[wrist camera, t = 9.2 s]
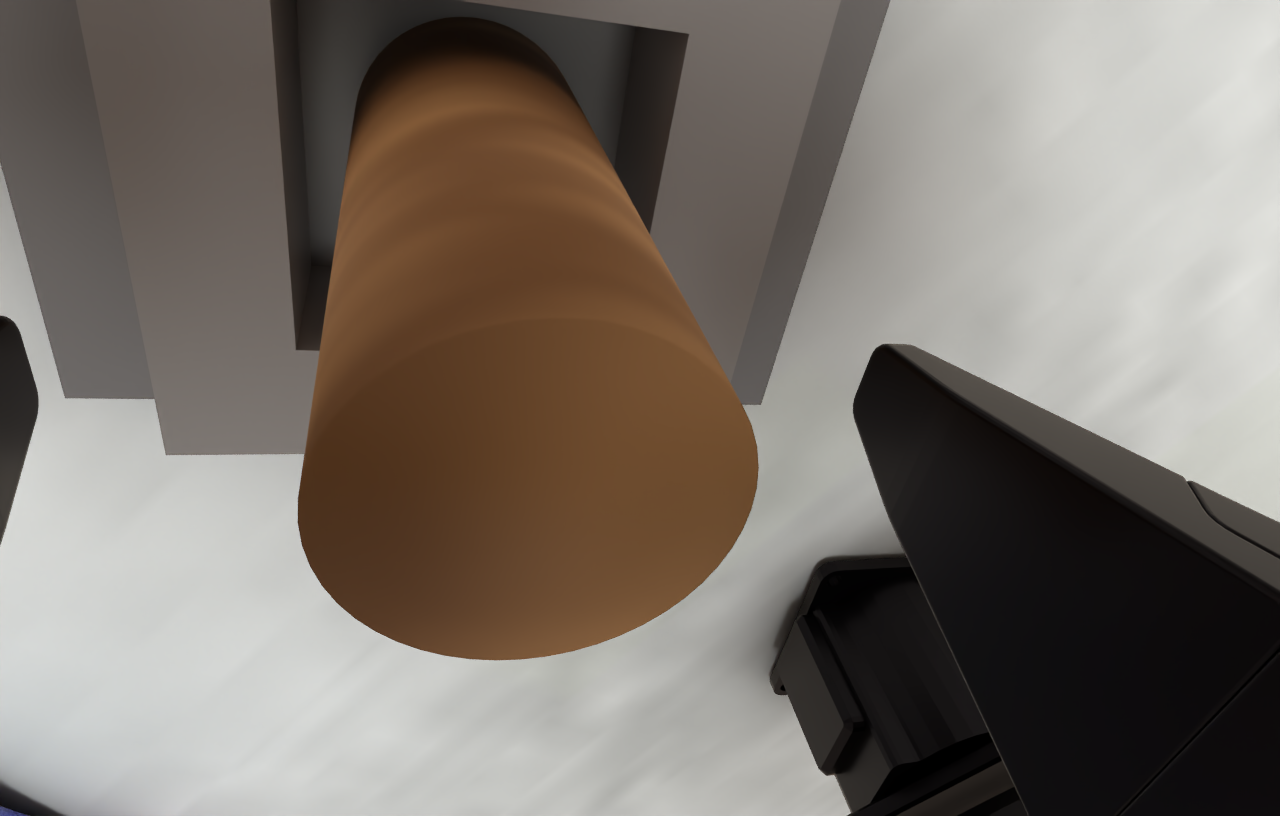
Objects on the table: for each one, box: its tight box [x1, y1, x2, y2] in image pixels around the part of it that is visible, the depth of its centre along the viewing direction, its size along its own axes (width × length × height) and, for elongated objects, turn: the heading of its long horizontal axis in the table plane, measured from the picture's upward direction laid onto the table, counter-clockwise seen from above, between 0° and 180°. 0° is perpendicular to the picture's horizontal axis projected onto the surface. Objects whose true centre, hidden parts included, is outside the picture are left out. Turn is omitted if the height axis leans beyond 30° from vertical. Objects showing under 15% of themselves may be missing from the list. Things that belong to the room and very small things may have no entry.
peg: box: [298, 17, 759, 660], centre depth 11 cm, size 4×4×10 cm
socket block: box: [0, 0, 890, 455], centre depth 14 cm, size 15×12×4 cm
